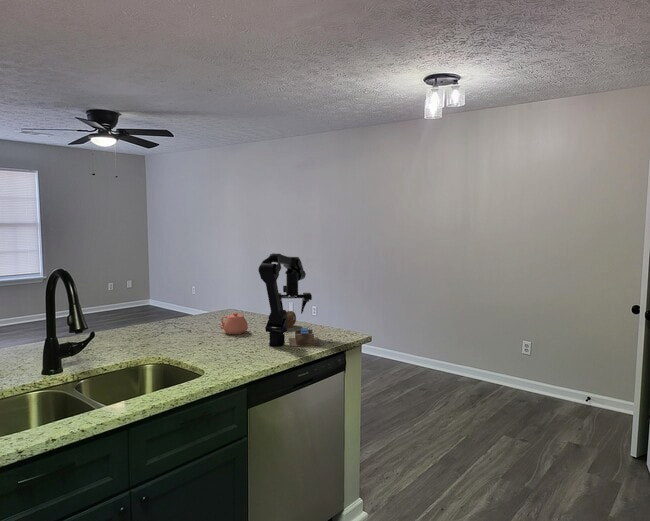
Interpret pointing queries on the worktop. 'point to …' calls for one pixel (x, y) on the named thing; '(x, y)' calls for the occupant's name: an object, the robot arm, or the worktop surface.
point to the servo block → (304, 331)
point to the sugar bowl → (234, 324)
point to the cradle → (304, 340)
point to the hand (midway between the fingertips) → (292, 313)
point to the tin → (291, 318)
